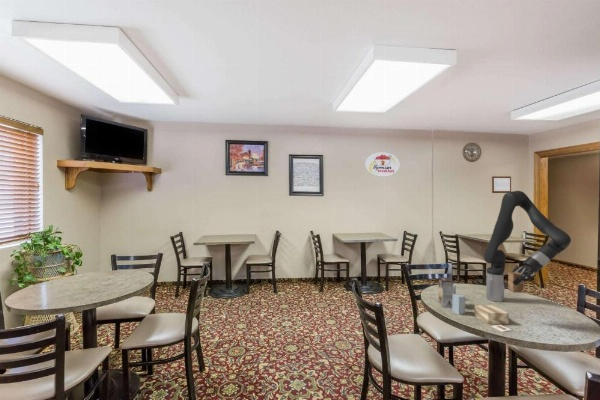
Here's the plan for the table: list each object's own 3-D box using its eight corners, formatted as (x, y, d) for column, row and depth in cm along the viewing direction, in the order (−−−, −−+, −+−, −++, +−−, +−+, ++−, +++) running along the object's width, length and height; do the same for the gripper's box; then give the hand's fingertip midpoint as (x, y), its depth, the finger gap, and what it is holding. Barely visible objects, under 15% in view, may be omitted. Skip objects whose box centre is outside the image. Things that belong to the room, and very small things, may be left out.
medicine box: (455, 298, 187) (456, 285, 187) (454, 300, 184) (454, 287, 184) (443, 295, 193) (443, 283, 193) (441, 297, 189) (441, 284, 189)
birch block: (493, 315, 160) (493, 305, 160) (508, 324, 149) (508, 313, 149) (474, 315, 160) (474, 305, 160) (488, 324, 149) (488, 313, 149)
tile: (500, 325, 147) (500, 324, 147) (511, 330, 141) (511, 329, 141) (491, 326, 146) (491, 325, 146) (502, 331, 140) (502, 330, 140)
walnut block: (517, 290, 155) (517, 272, 154) (522, 292, 150) (522, 274, 150) (508, 289, 155) (508, 271, 155) (513, 292, 151) (513, 273, 151)
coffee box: (437, 301, 181) (438, 276, 180) (448, 302, 179) (449, 277, 179) (442, 307, 172) (442, 280, 171) (453, 308, 170) (453, 281, 170)
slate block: (458, 310, 166) (458, 294, 166) (464, 313, 162) (465, 296, 162) (452, 311, 165) (452, 294, 165) (458, 314, 161) (458, 297, 160)
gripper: (522, 253, 158) (498, 274, 160) (540, 259, 144) (513, 281, 146) (532, 263, 158) (509, 283, 160) (551, 270, 144) (525, 292, 145)
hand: (511, 282), depth 153 cm, fingers closed on walnut block, 4 cm apart
